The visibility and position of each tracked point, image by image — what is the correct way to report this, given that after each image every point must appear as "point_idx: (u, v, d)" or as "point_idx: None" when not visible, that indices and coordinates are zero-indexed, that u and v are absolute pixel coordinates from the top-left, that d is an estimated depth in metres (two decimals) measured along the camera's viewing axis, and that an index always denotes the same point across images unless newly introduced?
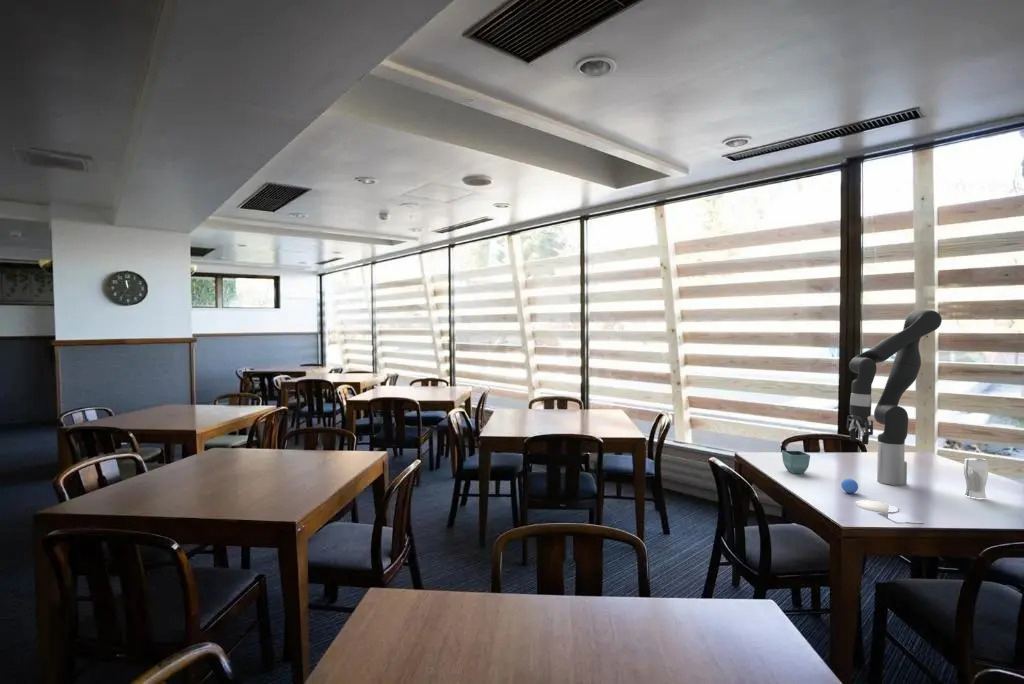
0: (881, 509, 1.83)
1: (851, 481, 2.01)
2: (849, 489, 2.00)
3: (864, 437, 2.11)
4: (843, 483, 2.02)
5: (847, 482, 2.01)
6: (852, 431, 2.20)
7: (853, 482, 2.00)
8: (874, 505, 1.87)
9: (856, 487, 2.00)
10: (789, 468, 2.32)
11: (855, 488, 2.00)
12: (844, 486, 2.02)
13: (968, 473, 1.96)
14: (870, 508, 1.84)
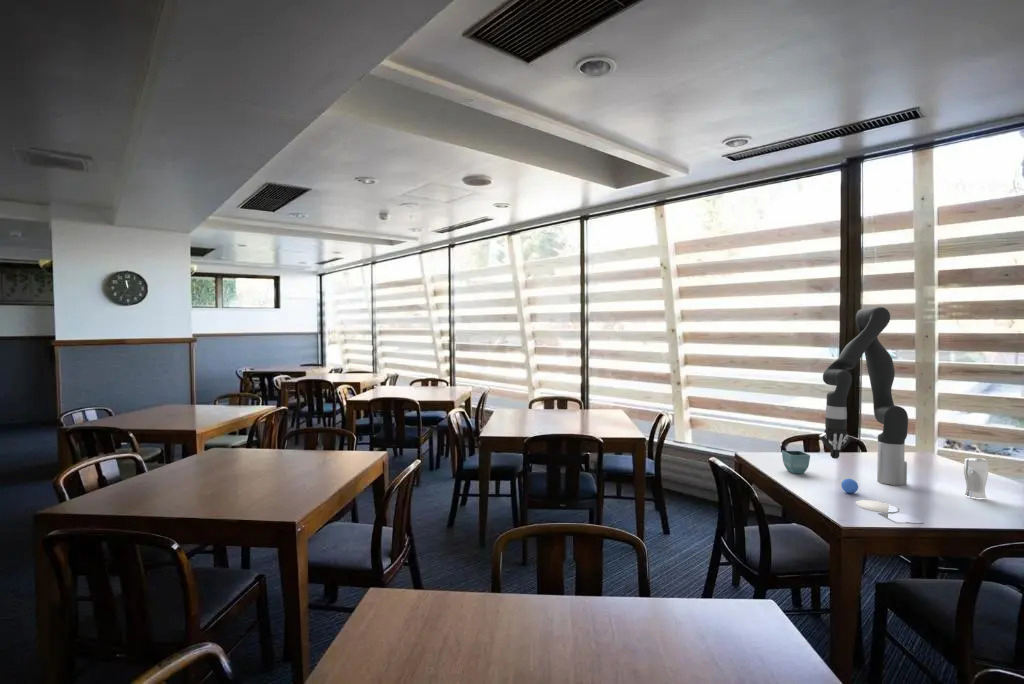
0: (881, 509, 1.83)
1: (851, 481, 2.01)
2: (849, 489, 2.00)
3: None
4: (843, 483, 2.02)
5: (847, 482, 2.01)
6: None
7: (853, 482, 2.00)
8: (874, 505, 1.87)
9: (856, 487, 2.00)
10: (789, 468, 2.32)
11: (855, 488, 2.00)
12: (844, 486, 2.02)
13: (968, 473, 1.96)
14: (870, 508, 1.84)
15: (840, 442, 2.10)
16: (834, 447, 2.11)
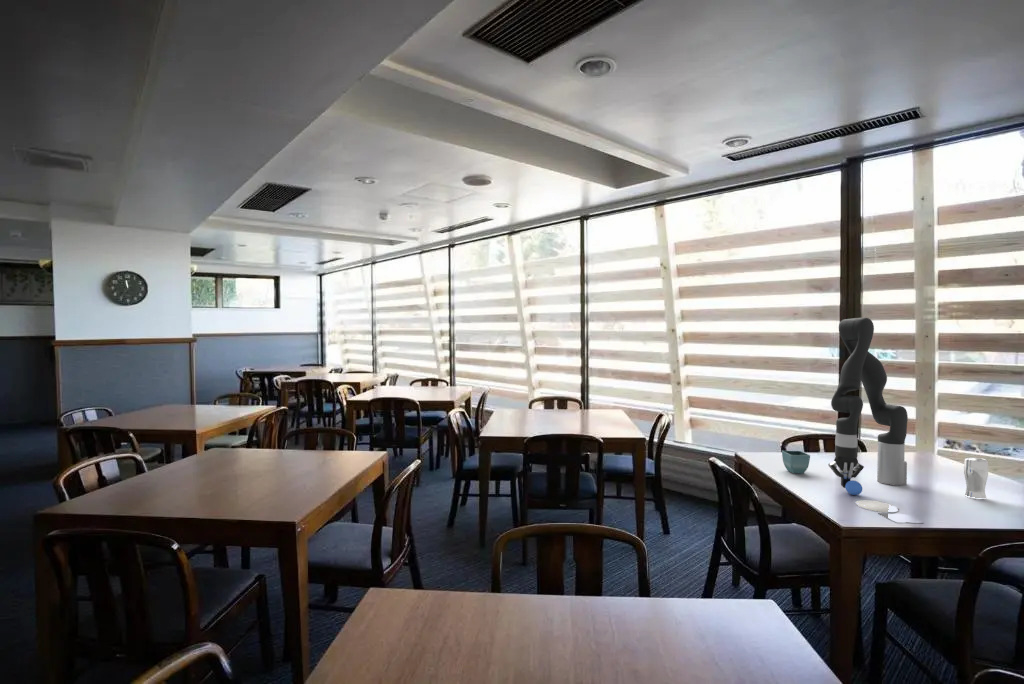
0: (881, 509, 1.83)
1: (857, 486, 1.97)
2: (852, 493, 1.98)
3: None
4: (848, 486, 1.99)
5: (852, 487, 1.98)
6: None
7: (858, 487, 1.97)
8: (874, 505, 1.87)
9: (860, 492, 1.98)
10: (789, 468, 2.32)
11: (858, 493, 1.98)
12: (848, 489, 1.99)
13: (968, 473, 1.96)
14: (870, 508, 1.84)
15: (851, 471, 2.02)
16: (845, 476, 2.03)
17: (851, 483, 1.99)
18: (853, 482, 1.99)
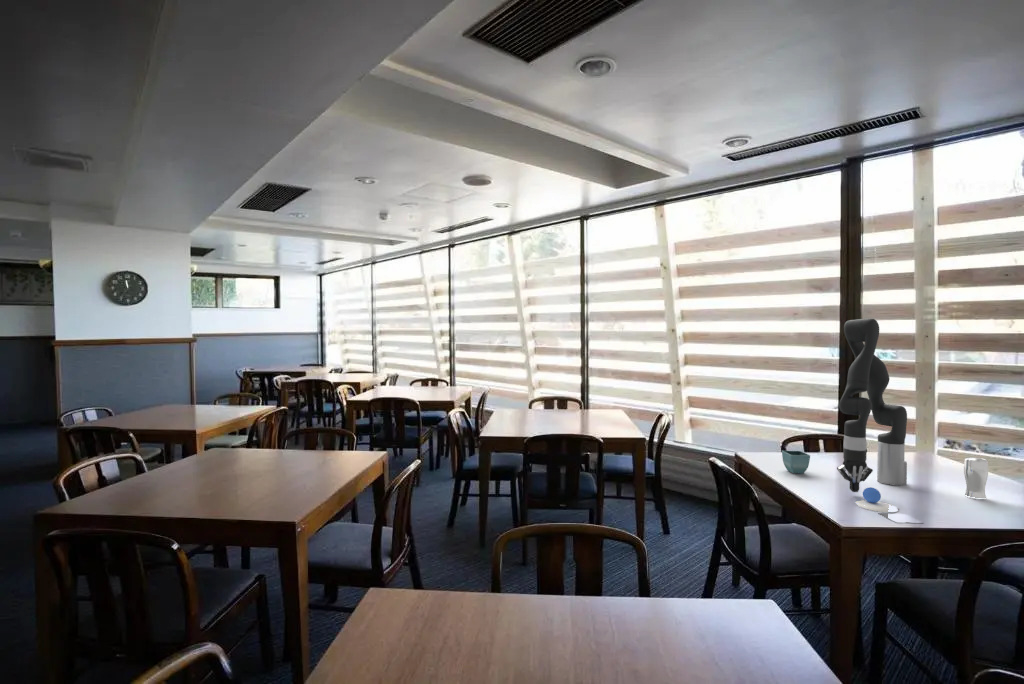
0: (881, 509, 1.83)
1: None
2: None
3: None
4: (865, 497, 1.91)
5: None
6: None
7: None
8: (874, 505, 1.87)
9: None
10: (789, 468, 2.32)
11: None
12: (863, 494, 1.91)
13: (968, 473, 1.96)
14: (870, 508, 1.84)
15: (860, 475, 1.98)
16: (854, 480, 1.98)
17: (866, 500, 1.91)
18: (868, 501, 1.91)
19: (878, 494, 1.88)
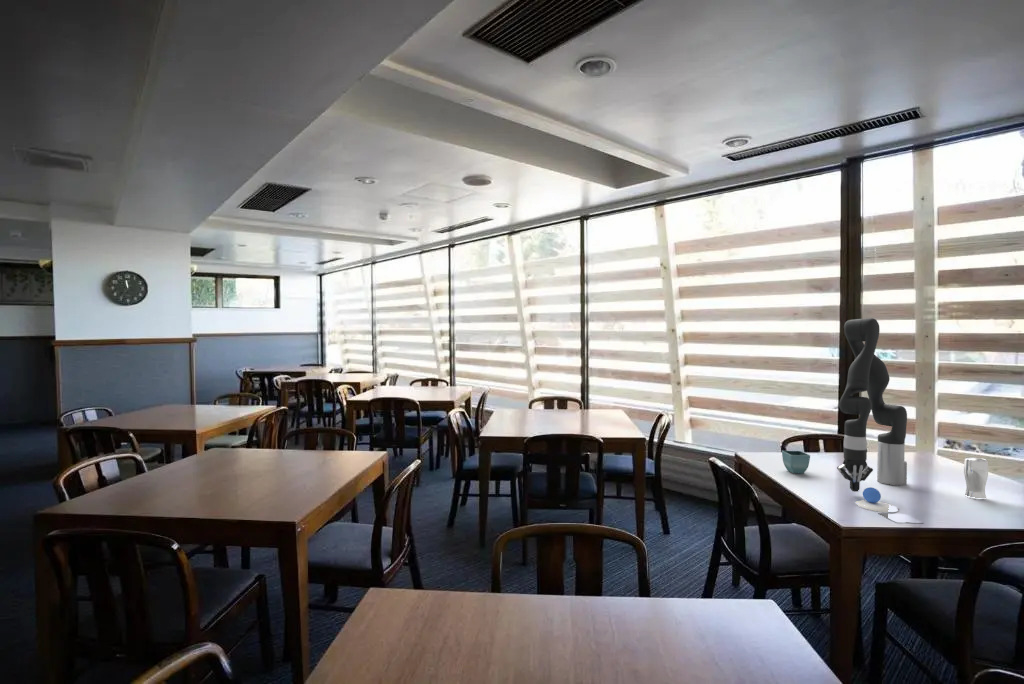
0: (881, 509, 1.83)
1: None
2: None
3: None
4: (865, 497, 1.91)
5: None
6: None
7: None
8: (874, 505, 1.87)
9: None
10: (789, 468, 2.32)
11: None
12: (863, 494, 1.91)
13: (969, 473, 1.96)
14: (870, 508, 1.84)
15: (860, 474, 1.98)
16: (854, 479, 1.98)
17: (866, 500, 1.91)
18: (868, 501, 1.91)
19: (878, 494, 1.88)
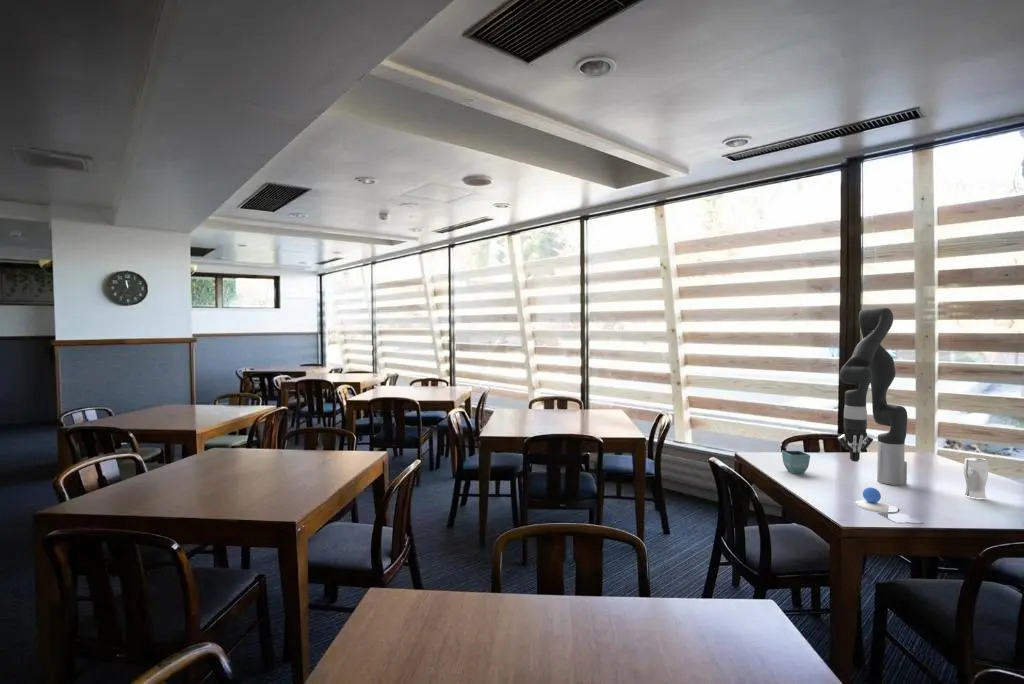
0: (881, 509, 1.83)
1: None
2: None
3: None
4: (865, 497, 1.91)
5: None
6: None
7: None
8: (874, 505, 1.87)
9: None
10: (789, 468, 2.32)
11: None
12: (863, 494, 1.91)
13: (969, 473, 1.96)
14: (870, 508, 1.84)
15: (860, 444, 1.97)
16: (854, 449, 1.98)
17: (866, 500, 1.91)
18: (868, 501, 1.91)
19: (878, 494, 1.88)
